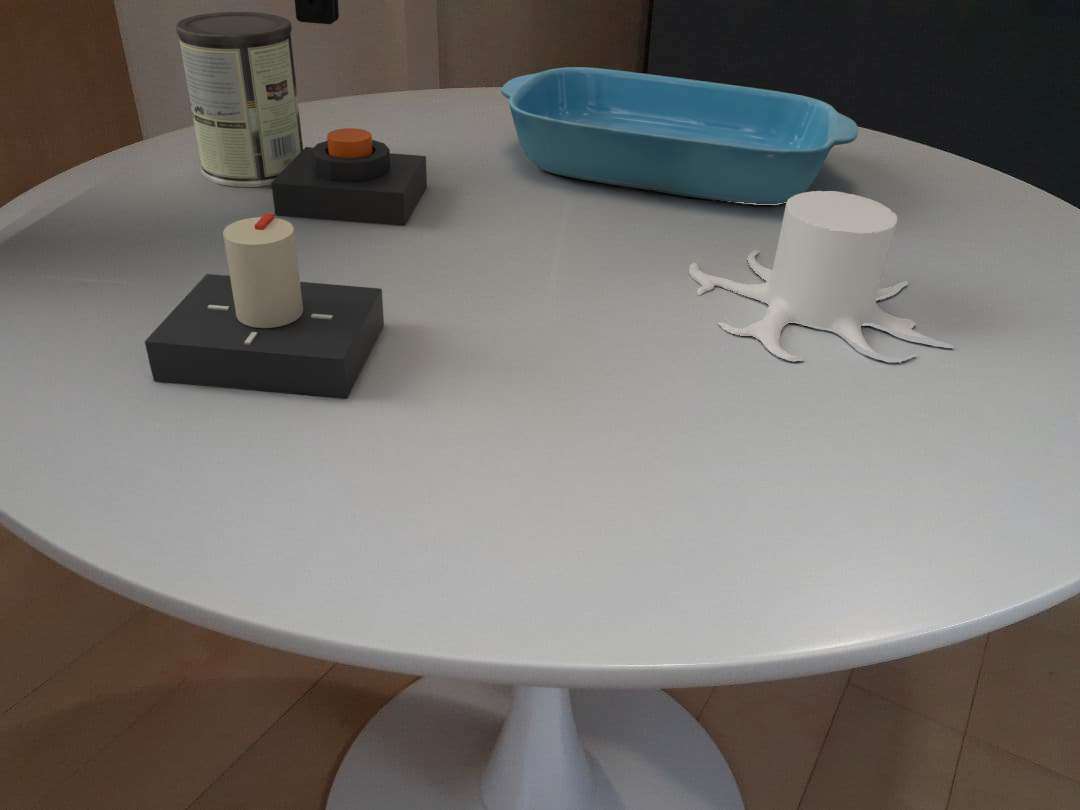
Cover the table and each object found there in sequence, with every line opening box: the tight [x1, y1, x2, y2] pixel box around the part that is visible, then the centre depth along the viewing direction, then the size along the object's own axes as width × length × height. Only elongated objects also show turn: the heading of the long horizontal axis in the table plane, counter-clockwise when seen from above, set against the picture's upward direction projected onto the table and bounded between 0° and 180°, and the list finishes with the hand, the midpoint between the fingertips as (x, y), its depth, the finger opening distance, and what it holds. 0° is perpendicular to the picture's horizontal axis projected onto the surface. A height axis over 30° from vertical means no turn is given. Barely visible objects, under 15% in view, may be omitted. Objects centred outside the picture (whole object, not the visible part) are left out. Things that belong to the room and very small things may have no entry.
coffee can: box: [175, 11, 304, 188], centre depth 89 cm, size 10×10×14 cm
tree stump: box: [688, 190, 927, 360], centre depth 71 cm, size 20×19×8 cm
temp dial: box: [222, 212, 303, 328], centre depth 61 cm, size 4×4×6 cm
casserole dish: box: [501, 66, 859, 204], centre depth 97 cm, size 37×22×7 cm, turn 74°
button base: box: [270, 139, 428, 227], centre depth 86 cm, size 12×10×5 cm
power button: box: [326, 127, 373, 158], centre depth 85 cm, size 4×4×2 cm
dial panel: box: [144, 273, 385, 399], centre depth 63 cm, size 13×10×3 cm
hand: (317, 20), depth 77 cm, fingers closed
